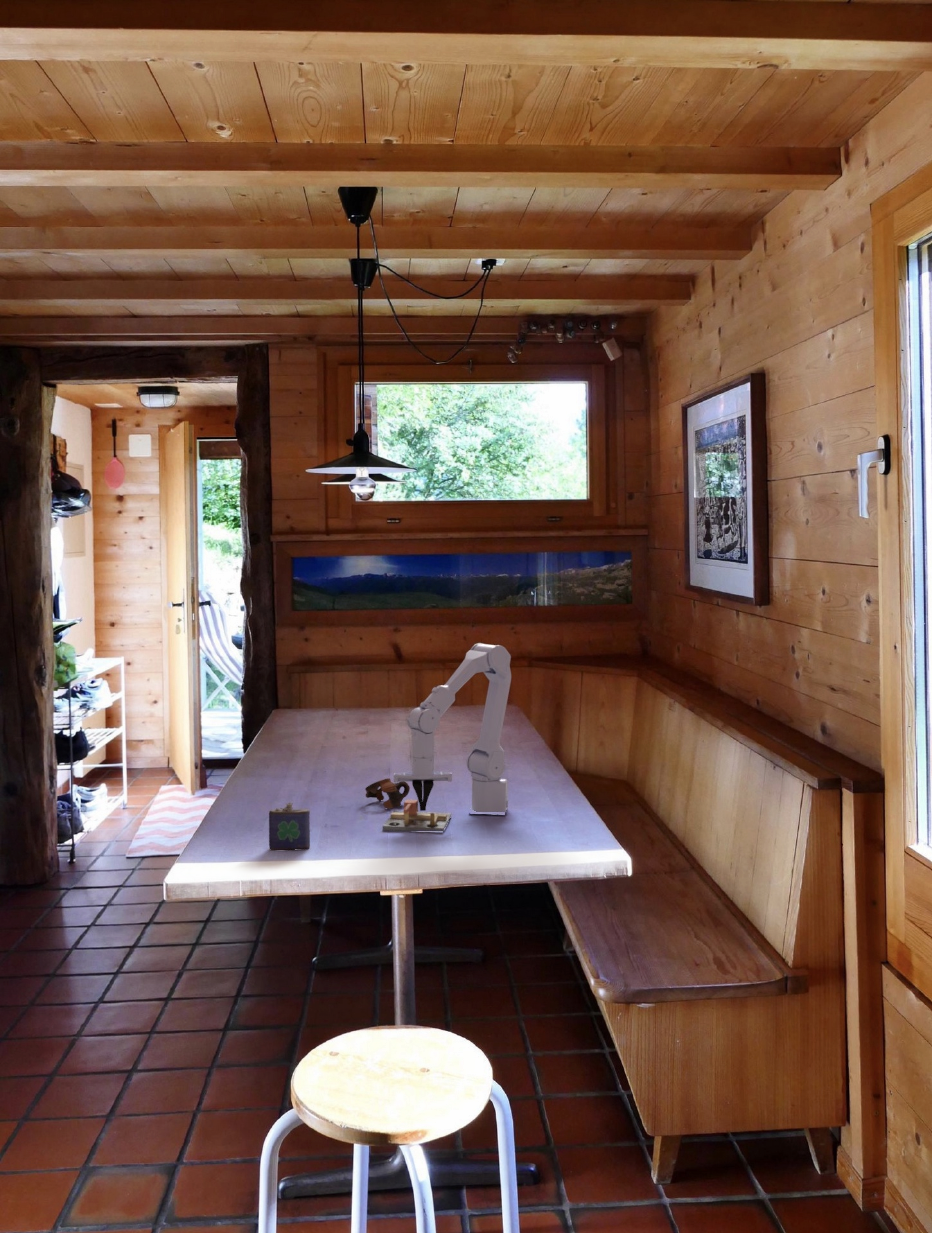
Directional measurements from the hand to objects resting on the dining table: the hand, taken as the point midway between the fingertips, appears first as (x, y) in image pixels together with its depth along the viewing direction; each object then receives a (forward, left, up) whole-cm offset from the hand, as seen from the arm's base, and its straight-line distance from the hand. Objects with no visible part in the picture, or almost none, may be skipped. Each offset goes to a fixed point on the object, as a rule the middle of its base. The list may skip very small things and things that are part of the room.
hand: (422, 809), depth 237 cm
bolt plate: (+1, +1, -3) cm, 4 cm away
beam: (+1, +3, -2) cm, 4 cm away
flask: (+26, +25, -4) cm, 37 cm away
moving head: (+3, +3, -2) cm, 5 cm away
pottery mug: (+12, -17, -4) cm, 21 cm away
